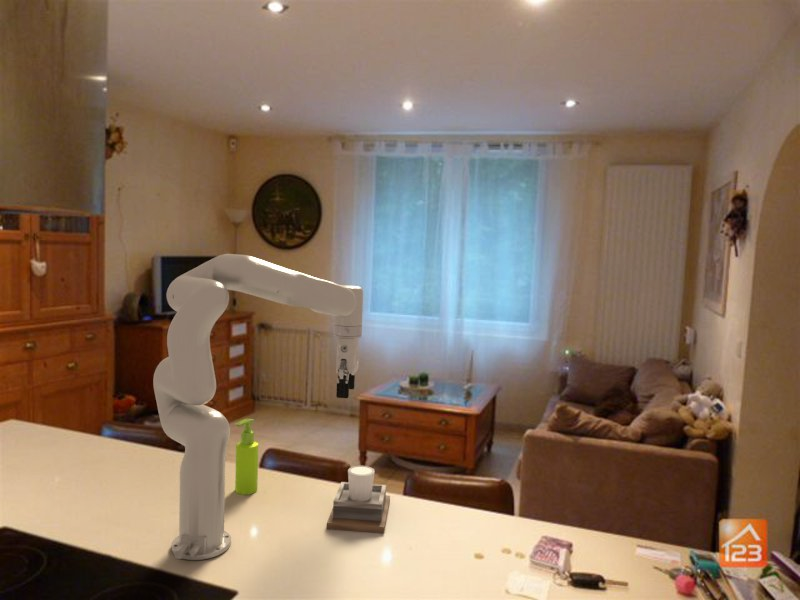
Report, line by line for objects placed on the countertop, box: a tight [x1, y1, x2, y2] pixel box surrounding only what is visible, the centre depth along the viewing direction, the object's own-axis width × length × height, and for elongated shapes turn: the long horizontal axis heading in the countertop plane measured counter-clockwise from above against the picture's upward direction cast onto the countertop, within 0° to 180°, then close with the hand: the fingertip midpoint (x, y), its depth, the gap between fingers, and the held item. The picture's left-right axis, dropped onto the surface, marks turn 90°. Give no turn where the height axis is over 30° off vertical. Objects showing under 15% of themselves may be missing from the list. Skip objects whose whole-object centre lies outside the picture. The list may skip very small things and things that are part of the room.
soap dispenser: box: [234, 418, 259, 496], centre depth 161 cm, size 6×7×20 cm
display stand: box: [326, 481, 391, 534], centre depth 150 cm, size 18×14×6 cm
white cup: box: [347, 465, 376, 501], centre depth 150 cm, size 7×7×7 cm
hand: (345, 393), depth 161 cm, fingers open, 9 cm apart
